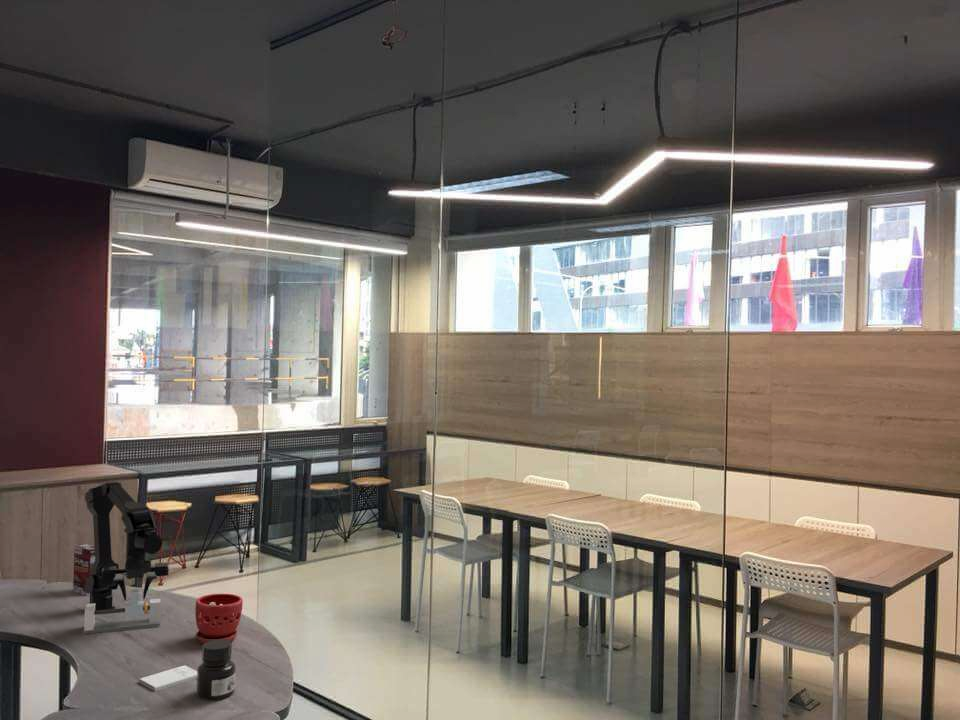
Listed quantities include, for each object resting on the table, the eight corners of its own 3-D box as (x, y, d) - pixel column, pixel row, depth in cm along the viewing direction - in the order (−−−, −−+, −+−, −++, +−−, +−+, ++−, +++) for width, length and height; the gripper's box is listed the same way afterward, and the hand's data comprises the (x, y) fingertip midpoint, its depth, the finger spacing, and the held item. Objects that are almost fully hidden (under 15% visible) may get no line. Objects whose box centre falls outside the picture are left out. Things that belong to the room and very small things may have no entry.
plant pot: (214, 650, 218) (215, 608, 218) (184, 641, 225) (186, 599, 225) (250, 637, 229) (252, 597, 229) (221, 629, 236) (222, 589, 236)
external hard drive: (138, 684, 195) (184, 670, 205) (155, 693, 190) (201, 678, 200) (138, 678, 195) (184, 664, 205) (155, 687, 190) (201, 672, 200)
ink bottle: (219, 704, 184) (221, 653, 184) (187, 699, 186) (189, 649, 186) (242, 688, 193) (244, 640, 193) (212, 683, 196) (213, 635, 196)
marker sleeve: (124, 617, 234) (125, 592, 234) (125, 614, 237) (126, 589, 238) (142, 616, 236) (143, 591, 236) (143, 612, 239) (143, 588, 239)
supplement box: (71, 591, 269) (73, 546, 270) (84, 588, 274) (86, 543, 274) (88, 595, 265) (89, 549, 266) (100, 592, 270) (102, 546, 270)
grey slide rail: (82, 634, 228) (83, 610, 228) (84, 626, 235) (85, 603, 235) (159, 626, 236) (160, 603, 236) (159, 619, 243) (160, 597, 243)
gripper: (100, 556, 226) (99, 610, 226) (169, 552, 233) (168, 604, 233) (103, 548, 236) (101, 599, 236) (168, 544, 244) (167, 593, 243)
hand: (134, 599), depth 237 cm, fingers open, 5 cm apart
